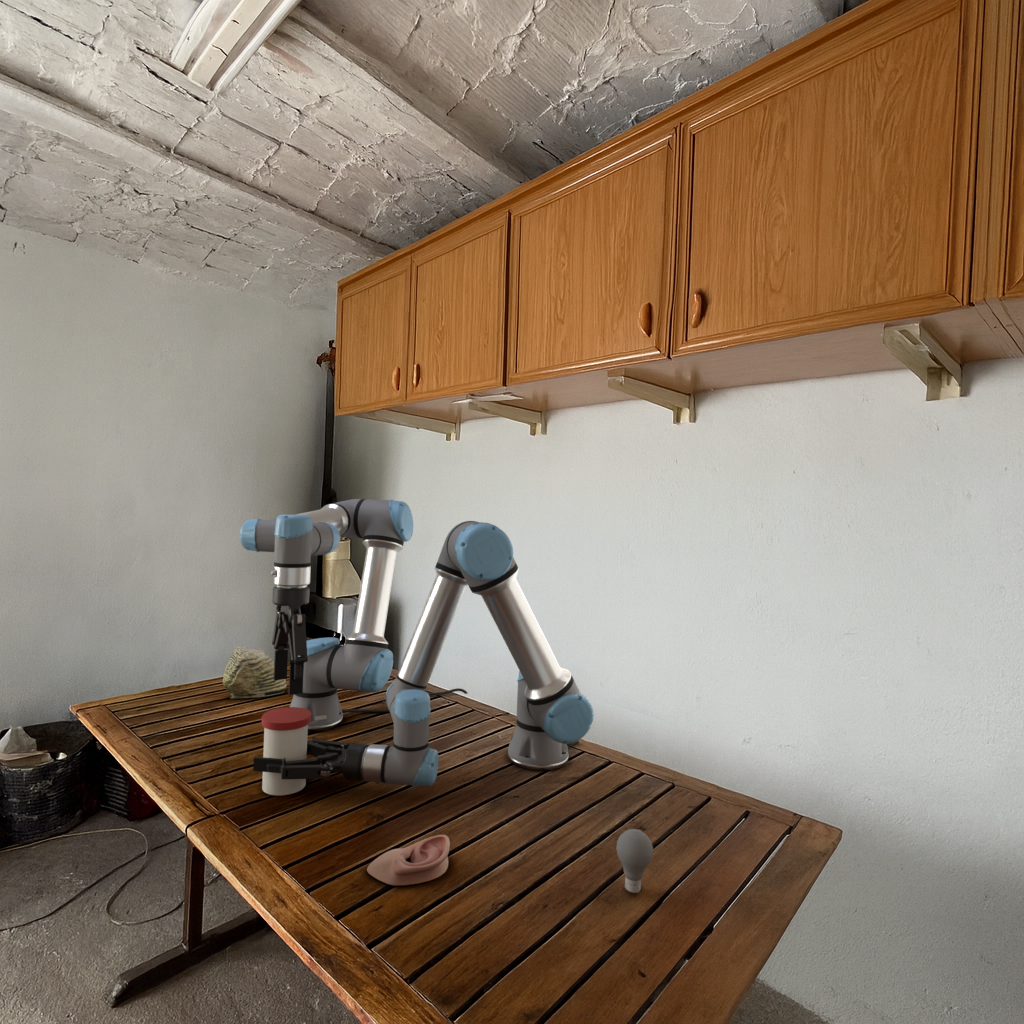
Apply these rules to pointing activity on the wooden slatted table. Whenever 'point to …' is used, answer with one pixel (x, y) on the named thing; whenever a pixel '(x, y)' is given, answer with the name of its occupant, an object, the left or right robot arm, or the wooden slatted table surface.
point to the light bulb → (634, 857)
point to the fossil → (251, 674)
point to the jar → (280, 747)
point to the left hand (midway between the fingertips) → (287, 686)
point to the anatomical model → (412, 862)
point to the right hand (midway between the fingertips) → (265, 754)
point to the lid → (286, 718)
